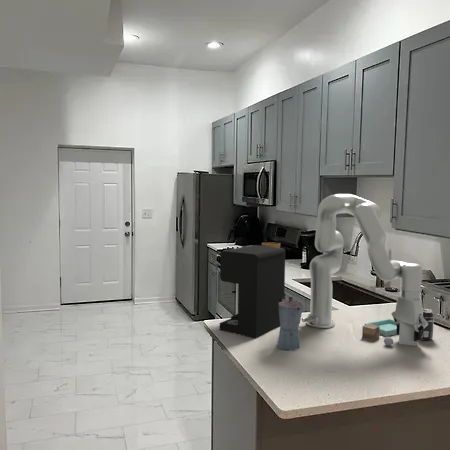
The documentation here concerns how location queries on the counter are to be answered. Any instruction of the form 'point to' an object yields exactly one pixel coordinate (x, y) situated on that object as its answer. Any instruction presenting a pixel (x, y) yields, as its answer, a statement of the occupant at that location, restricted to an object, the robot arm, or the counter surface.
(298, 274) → the counter surface
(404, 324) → the white box
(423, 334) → the beverage can
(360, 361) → the counter surface
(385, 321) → the tray
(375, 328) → the walnut block
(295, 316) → the moka pot
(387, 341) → the grey ball
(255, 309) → the coffee maker
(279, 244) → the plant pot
